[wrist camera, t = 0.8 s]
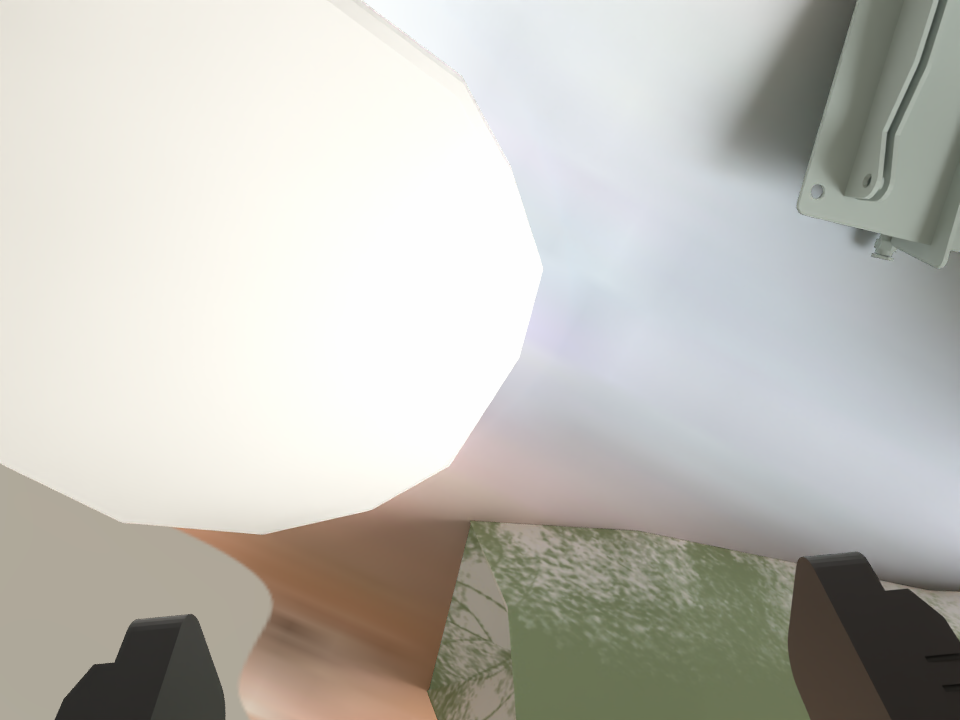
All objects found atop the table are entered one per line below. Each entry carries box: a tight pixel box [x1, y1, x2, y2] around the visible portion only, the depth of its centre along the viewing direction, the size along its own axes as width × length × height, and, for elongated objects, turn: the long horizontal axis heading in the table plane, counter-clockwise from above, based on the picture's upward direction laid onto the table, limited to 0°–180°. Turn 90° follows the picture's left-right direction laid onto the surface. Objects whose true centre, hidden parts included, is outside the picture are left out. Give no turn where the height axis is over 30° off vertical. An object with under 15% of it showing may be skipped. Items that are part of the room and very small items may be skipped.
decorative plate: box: [0, 0, 543, 535], centre depth 34 cm, size 25×4×25 cm
